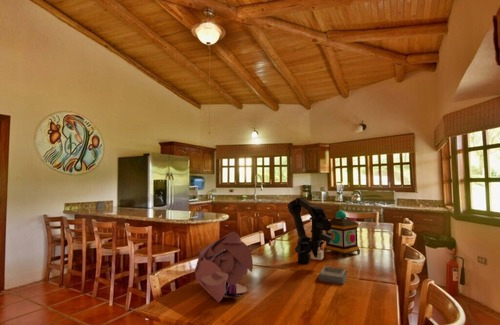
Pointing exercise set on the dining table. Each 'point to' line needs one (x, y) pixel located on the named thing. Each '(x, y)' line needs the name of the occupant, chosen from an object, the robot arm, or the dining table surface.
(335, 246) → the decorative lantern
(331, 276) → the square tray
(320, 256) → the beige cube with knob
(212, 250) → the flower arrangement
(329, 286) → the dining table surface
